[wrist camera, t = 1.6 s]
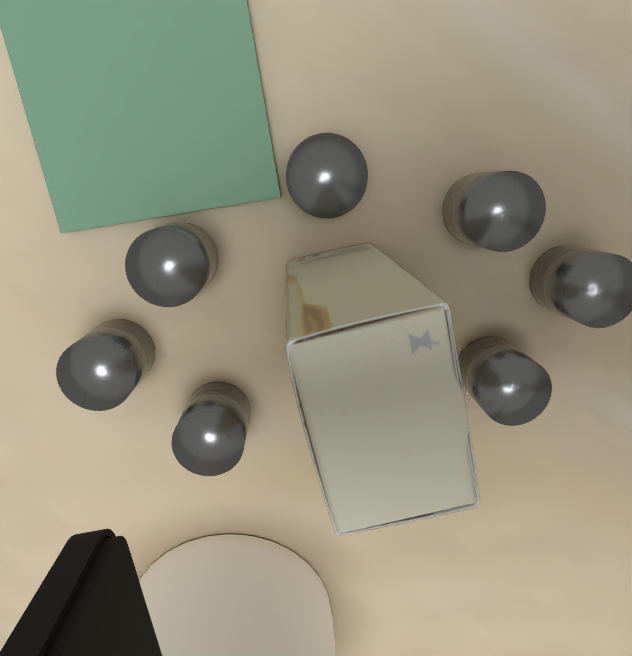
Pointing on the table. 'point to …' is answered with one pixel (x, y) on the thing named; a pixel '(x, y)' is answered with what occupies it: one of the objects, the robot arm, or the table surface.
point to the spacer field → (328, 202)
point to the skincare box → (378, 390)
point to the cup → (237, 600)
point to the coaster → (141, 106)
